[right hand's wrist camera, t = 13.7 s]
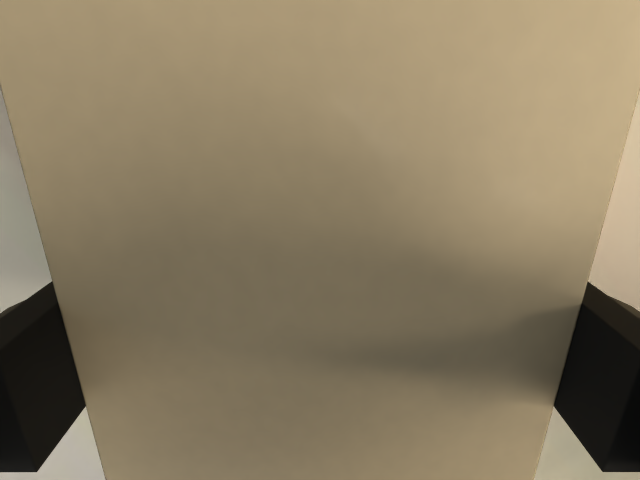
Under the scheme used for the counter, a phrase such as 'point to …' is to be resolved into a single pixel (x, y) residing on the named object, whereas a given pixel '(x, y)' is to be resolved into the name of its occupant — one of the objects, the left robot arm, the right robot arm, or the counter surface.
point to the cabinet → (320, 222)
